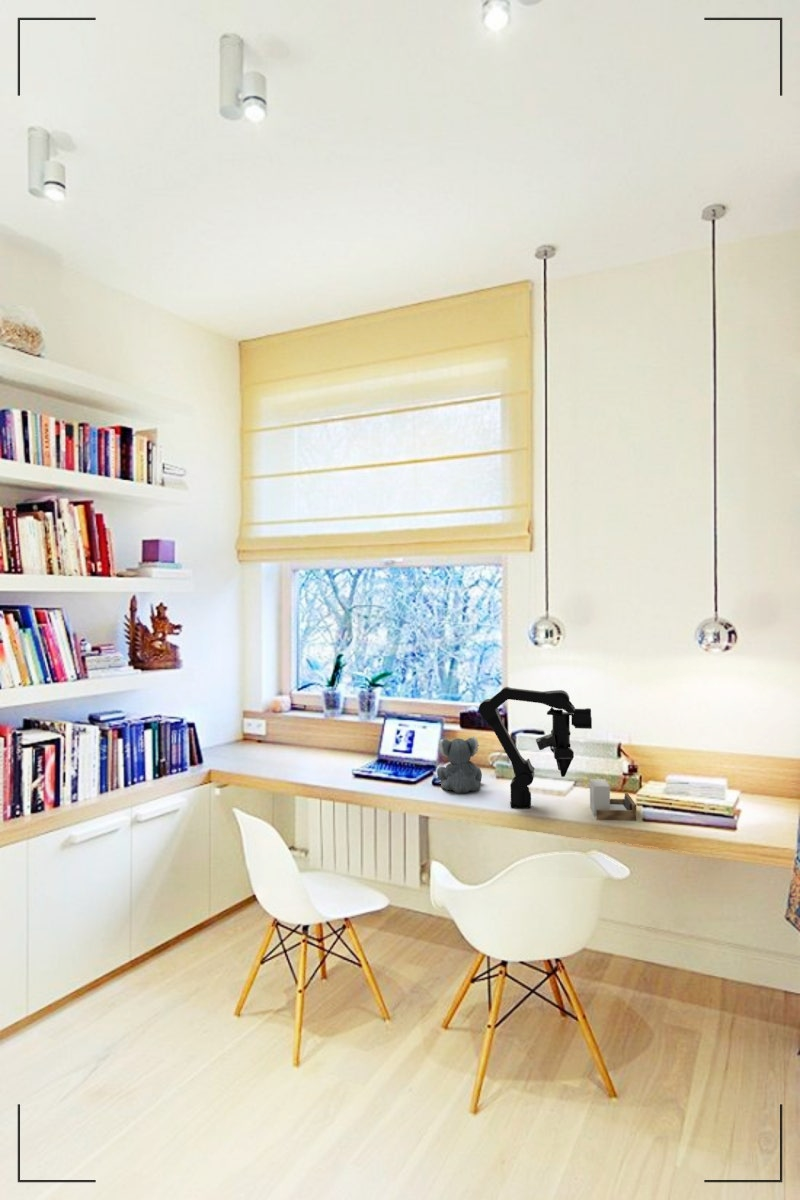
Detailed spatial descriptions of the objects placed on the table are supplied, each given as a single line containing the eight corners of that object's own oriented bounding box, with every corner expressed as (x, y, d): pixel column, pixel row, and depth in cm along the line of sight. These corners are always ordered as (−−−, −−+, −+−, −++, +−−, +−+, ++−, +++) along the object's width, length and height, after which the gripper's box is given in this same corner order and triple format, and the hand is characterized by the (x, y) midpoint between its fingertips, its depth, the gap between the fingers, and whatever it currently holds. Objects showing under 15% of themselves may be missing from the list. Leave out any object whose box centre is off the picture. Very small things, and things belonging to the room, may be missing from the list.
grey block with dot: (594, 816, 250) (594, 786, 250) (590, 807, 260) (589, 778, 259) (628, 817, 249) (628, 786, 249) (622, 808, 259) (622, 779, 258)
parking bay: (597, 819, 246) (596, 804, 246) (590, 807, 260) (590, 792, 260) (636, 820, 245) (636, 805, 245) (627, 807, 259) (627, 793, 259)
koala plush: (481, 782, 296) (480, 732, 295) (485, 794, 278) (485, 741, 277) (436, 782, 296) (436, 732, 296) (438, 795, 278) (437, 741, 278)
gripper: (535, 722, 269) (535, 766, 269) (539, 732, 250) (539, 780, 251) (566, 723, 268) (567, 767, 268) (573, 733, 249) (574, 780, 250)
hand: (561, 773), depth 259 cm, fingers open, 9 cm apart
